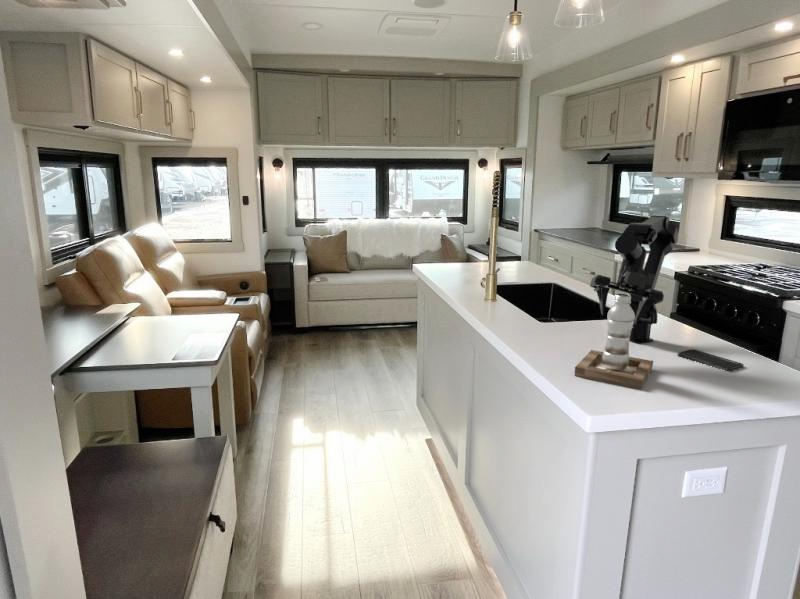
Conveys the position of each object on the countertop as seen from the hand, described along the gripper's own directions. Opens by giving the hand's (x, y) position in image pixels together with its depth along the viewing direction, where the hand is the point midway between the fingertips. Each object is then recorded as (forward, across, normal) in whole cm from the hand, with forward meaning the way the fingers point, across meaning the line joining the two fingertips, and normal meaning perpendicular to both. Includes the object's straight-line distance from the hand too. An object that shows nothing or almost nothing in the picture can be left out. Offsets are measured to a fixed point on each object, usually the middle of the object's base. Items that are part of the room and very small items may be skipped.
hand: (619, 318), depth 151 cm
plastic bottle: (+15, 0, -7) cm, 16 cm away
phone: (+4, +27, +4) cm, 28 cm away
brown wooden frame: (+16, 0, -6) cm, 17 cm away
